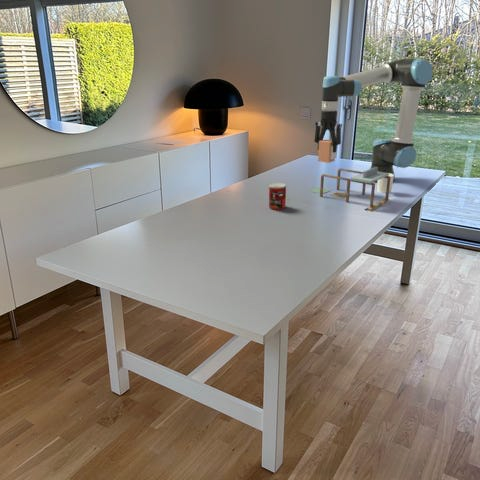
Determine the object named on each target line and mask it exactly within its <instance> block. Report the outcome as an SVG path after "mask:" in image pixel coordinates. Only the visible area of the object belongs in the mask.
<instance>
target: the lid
mask: <svg viewBox="0 0 480 480" xmlns="http://www.w3.org/2000/svg"><path fill="white" fill-rule="evenodd" d="M370 168H371V167H370ZM370 168H369V169H366V170H363V171H362V172H363V173H362V174H359V173H358V174H357V175H354V176H352V177H350V179H351V180H355V181H360V182H366V183H376V182H375V181H377V180H379V179H382V178H384V177H386V176H389V173H384V172H378V167H374V168H371V169H370Z"/></svg>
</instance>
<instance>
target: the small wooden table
mask: <svg viewBox="0 0 480 480" xmlns="http://www.w3.org/2000/svg"><path fill="white" fill-rule="evenodd" d="M342 172H346V173H353V174H358V175H359V174H362V173H363V172H364V171H358V170H353V169H345V168H338V170H337V176H335V175H330V174H326V173H322V174H321V175H320V187H319V188H320V194H319V197H320V198H323V196H324V194H323V189H324V181H325V178H331V179H336V192H334V193H332V194H329V195H328V196H330V197H335V198H339V199H345V202H346V203H349V202H350V196H351V194H350V189H351V182H352V183H356V184H362V189H361V190H362V191H361V196H365V195H366V186H367V185H370V186H371V192H370V202H369V203H370V204H369V206H368V207H366V208H364V209H363V210H364V211H367V210H368V211H369V212H371V211H374V210H375V209H377V208H379V207H381V206H382V205H385V204H387V203H388V202H390V198H389V195H390V193H389V187H390V179H391V177H390V176H386V177H384V178H388V180H387V189H386V193H385V198H384V199H382V200H381V201H378V202H376V203H374V201H375V200H374V198H375V192H376V190H375V188H376V182H372V183H366V182H360V181H355V180H351V178H347V177H342V176H341V173H342ZM341 180H342V181H345V182H346V183H347V184H346V193H345V192H338V191H340V184H341Z"/></svg>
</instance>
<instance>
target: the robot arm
mask: <svg viewBox="0 0 480 480" xmlns="http://www.w3.org/2000/svg"><path fill="white" fill-rule="evenodd" d="M433 74H434V69H433V65H432V63H431V62H430V61H429V60H428V59H425V58H400V59H396V60H394V61H391V62H387V63H384V64H382V65H381V66H380V67H376V68H372V69H368V70H365V71H361V72H356V73H352V74H348V75H344V76H341V77H340V76H338V75H329V76H328V75H326V76H324V77H323V81H322V92H321V93H322V97H321V99H322V100H321V113H320V118H321V119H320V121H316V122H314V123H315V132H314V133H315V134H314V142H315V143H317V151H319V141H321V140H324V138H325V134H326V132H327V131H328V132H329V133H330V138H331V139H330V140H332V144H333V145H332V146H331V158H330V159H334V157H335V158H336V153H337V147H338V146H339V145H341V143H342V140H341V139H342V128H343V124H342V123H338V121H337V119H338V108H339V106H338V103H339V98H341V97H342V98H343V97H345V98H346V97H347V98H348V97H352V98H353V97H358V96H359V95H360V94H361V92H362V88H365V87H369V86H373V85H377V84H380V83H385V84H388V83H400V87H401V89H402V96H401V101H400V105H399V112H398V119H397V123H396V129H395V133H394V134H395V135H394V137H393V138H379V139H378V138H377V139H375V140H374V141H373V145H372V155H371V156H372V157H371V166H370V168H369V169H371V168H374V167H378V172H384V173H391V174H394V179H393V182H395V179H396V177H395V171H394V167H397V168H402V169H406V168H408V167H411V165H412V164H414V162H415V160H416V158H417V154H418V153H417V150H416V149H415V147H414V145H415V142H414V140H413V134H414V129H415V124H416V119H417V113H418V109H419V103H420V97H421V93H422V91H423V90H424V89H425V88H426V84H428V83H429V82H430V81H431V79H432V77H433ZM377 182H378V180H377V181H375V182H374V183H377Z"/></svg>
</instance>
